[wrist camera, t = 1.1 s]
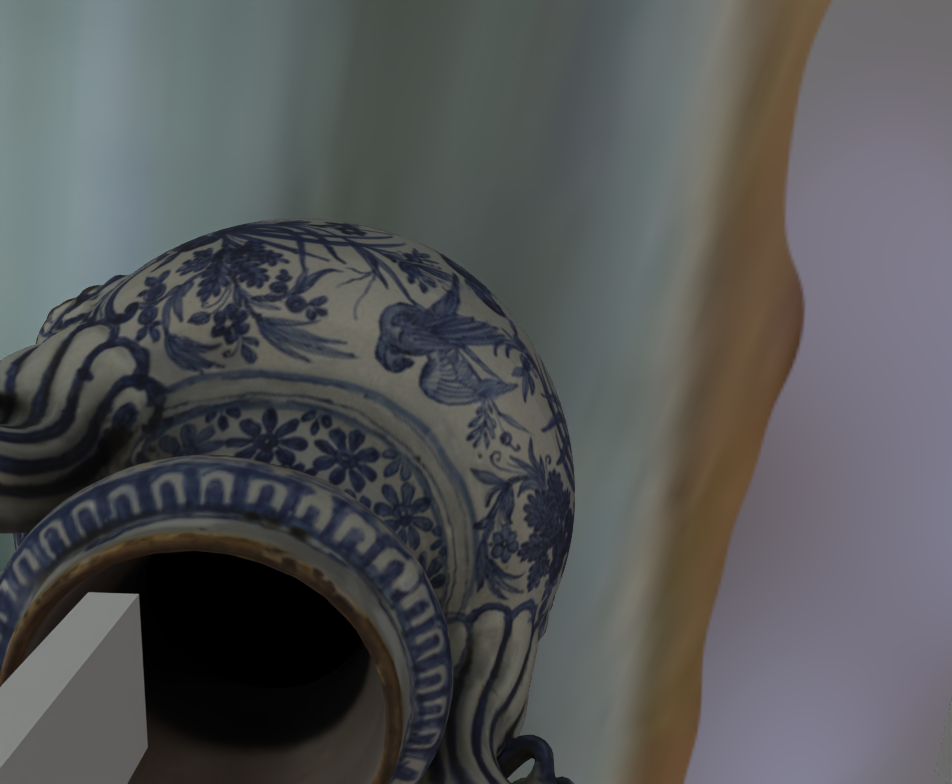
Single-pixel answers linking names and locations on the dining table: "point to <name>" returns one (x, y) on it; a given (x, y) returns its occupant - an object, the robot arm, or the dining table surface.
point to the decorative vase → (297, 505)
